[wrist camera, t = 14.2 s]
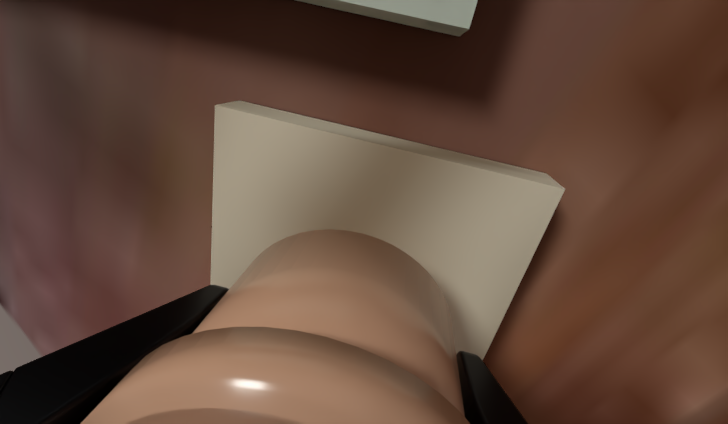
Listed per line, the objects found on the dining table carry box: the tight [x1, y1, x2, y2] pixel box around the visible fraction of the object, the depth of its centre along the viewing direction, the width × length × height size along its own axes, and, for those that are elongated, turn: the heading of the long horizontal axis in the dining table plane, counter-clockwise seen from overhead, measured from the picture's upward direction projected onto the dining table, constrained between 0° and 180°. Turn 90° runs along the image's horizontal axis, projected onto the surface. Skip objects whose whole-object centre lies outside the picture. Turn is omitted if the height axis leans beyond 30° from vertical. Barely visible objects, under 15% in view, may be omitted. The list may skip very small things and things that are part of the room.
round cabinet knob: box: [81, 229, 470, 424], centre depth 6 cm, size 6×6×4 cm
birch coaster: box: [211, 101, 565, 361], centre depth 10 cm, size 8×8×1 cm
